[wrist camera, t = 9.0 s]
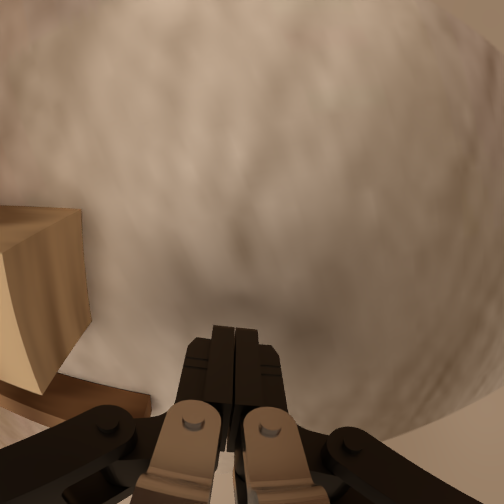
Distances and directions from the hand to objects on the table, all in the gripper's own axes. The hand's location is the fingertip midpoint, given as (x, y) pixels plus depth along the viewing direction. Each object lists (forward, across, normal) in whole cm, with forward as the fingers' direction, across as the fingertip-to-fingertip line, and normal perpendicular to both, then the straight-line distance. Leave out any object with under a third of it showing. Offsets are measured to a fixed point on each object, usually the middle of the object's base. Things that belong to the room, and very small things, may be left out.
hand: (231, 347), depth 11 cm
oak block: (+4, +12, 0) cm, 13 cm away
